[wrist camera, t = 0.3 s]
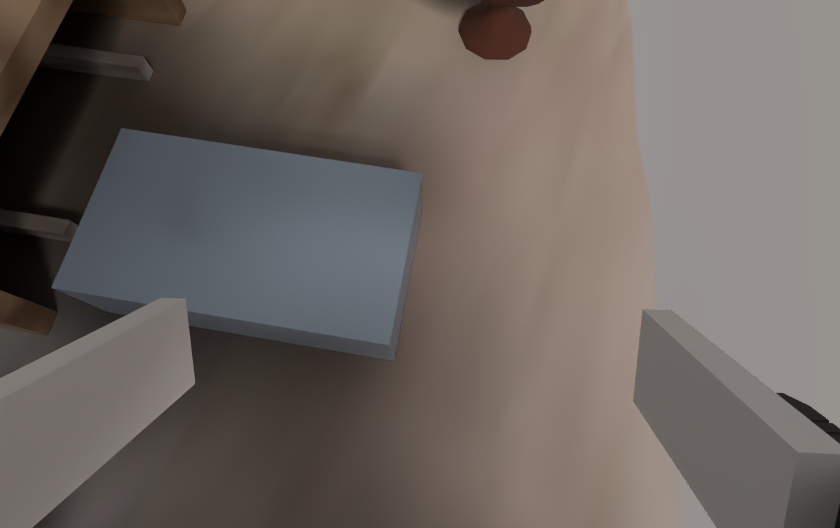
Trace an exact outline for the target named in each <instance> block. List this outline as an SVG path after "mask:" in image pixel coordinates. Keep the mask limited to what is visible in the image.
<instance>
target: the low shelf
mask: <svg viewBox="0 0 840 528" xmlns="http://www.w3.org/2000/svg"><path fill="white" fill-rule="evenodd" d="M67 10H71V11H78V12H86V13H93V14H100V15H107V16H115V17H122V18H129V19H137V20H144V21H151V22H159V23H166V24H173V25H180V24H181V22H182V20H183V17H184V15H185V13H186V9H185V7H184V5H183V4H182V2H181V0H0V136H1V134H2V132H3V131H4V129H5V127H6V125H7V123H8V121H9V119H10V117H11V116H12V114H13V112H14V110H15V108H16V106H17V104H18V102H19V101H20V99H21V97H22V95H23V93H24V91H25V89H26V87H27V86H28V84H29V82H30V80H31V78H32V76H33V74H34V72H35V70H36V69H37V67H38V66H41V67H48V68H55V69H62V70H69V71H76V72H83V73H90V74H97V75H104V76H111V77H118V78H124V79H131V80H138V81H145V82H149V81H150V78H151V76H152V74H153V70H152V68H151V67H150V65H149V64H148V63H147V61H146V60H145V58H144V57H143V56H137V55H130V54H123V53H116V52H109V51H102V50H94V49H87V48H80V47H73V46H66V45H59V44H52V43H50V42H51V40H52V39H53V37H54V35H55V33H56V31H57V29H58V27H59V25H60V24H61V22H62V20H63V18H64V16H65V14H66V12H67ZM77 228H78V225H77V224H75V223H74V222H72V221H70V220H66V219H60V218H54V217H48V216H42V215H35V214H29V213H23V212H17V211H11V210H4V209H0V231H4V232H10V233H16V234H22V235H28V236H35V237H41V238H47V239H53V240H59V241H65V242H72V239H73V237H74V235H75V232H76V230H77ZM56 314H57V311H54V310H52V309H49V308H46V307H44V306H41V305H38V304H36V303H33V302H30V301H28V300H25V299H22V298H19V297H17V296H14V295H11V294H9V293H6V292H3V291H1V290H0V327H2V328H8V329H14V330H19V331H25V332H31V333H36V334H42V335H48V333H49V331H50V328H51V326H52V324H53V321H54V319H55V317H56Z"/></svg>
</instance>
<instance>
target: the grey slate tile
mask: <svg viewBox="0 0 840 528" xmlns="http://www.w3.org/2000/svg"><path fill="white" fill-rule="evenodd" d="M421 214H422V173H418V172H411V171H405V170H398V169H391V168H385V167H378V166H371V165H365V164H358V163H351V162H345V161H338V160H331V159H325V158H318V157H311V156H305V155H298V154H291V153H285V152H278V151H271V150H265V149H258V148H251V147H245V146H238V145H231V144H225V143H218V142H211V141H205V140H198V139H191V138H185V137H178V136H171V135H165V134H158V133H151V132H145V131H138V130H131V129H125V128H121V130H120V132H119V135H118V137H117V139H116V141H115V144H114V146H113V148H112V151H111V153H110V155H109V157H108V160H107V162H106V164H105V167H104V169H103V171H102V173H101V176H100V178H99V180H98V182H97V185H96V187H95V189H94V192H93V194H92V196H91V198H90V201H89V203H88V205H87V207H86V210H85V212H84V214H83V217H82V219H81V221H80V223H79V226H78V228H77V230H76V232H75V235H74V237H73V239H72V242H71V244H70V246H69V248H68V251H67V253H66V255H65V258H64V260H63V262H62V264H61V267H60V269H59V271H58V273H57V276H56V278H55V280H54V283H53V285H52V287H51V288H53V289H55V290H57V291H60V292H62V293H64V294H67V295H69V296H71V297H74V298H76V299H78V300H81V301H83V302H85V303H88V304H90V305H92V306H94V307H97V308H99V309H101V310H104V311H106V312H111V313H116V314H122V315H128V314H130V313H132V312H134V311H136V310H138V309H140V308H142V307H144V306H146V305H148V304H150V303H152V302H154V301H156V300H158V299H160V298H186V307H187V315H188V324H189V326H192V327H198V328H204V329H210V330H215V331H221V332H227V333H233V334H239V335H245V336H250V337H256V338H262V339H268V340H274V341H280V342H285V343H291V344H297V345H303V346H309V347H315V348H320V349H326V350H332V351H338V352H344V353H350V354H355V355H361V356H367V357H373V358H379V359H385V360H390V361H394V359H395V353H396V348H397V343H398V337H399V332H400V327H401V321H402V316H403V310H404V305H405V300H406V294H407V289H408V284H409V278H410V273H411V267H412V262H413V257H414V251H415V246H416V241H417V235H418V230H419V225H420V219H421Z"/></svg>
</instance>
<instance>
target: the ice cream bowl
mask: <svg viewBox="0 0 840 528" xmlns="http://www.w3.org/2000/svg"><path fill="white" fill-rule="evenodd" d="M481 1H483V2H482V3H480V4H478V5H476V6H474V7H473V8H471V9H469V10H468V11H467V13H466V15H465V17H464V19H463V22H462V25H461V27H460V30H459V33H460V35H461V38H462V40H463V42H464V45H465V47H466V49H468V50H470V51H471V52H473V53H475V54H477V55H478V56H480V57H482V58H484V59H510V58H511V57H513V56H515V55H516V54H518V53H520V52H522V51H523V50H525V49H526V47H527V44H528V41H529V38H530V35H531V26H530V24H529V22H528V20H527V18H526V16H525V14H524V12H523V10H521V9H519V8H517V7H528V6H532V5H536V4H539V3H540V2H542V1H544V0H481Z"/></svg>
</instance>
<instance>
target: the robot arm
mask: <svg viewBox="0 0 840 528" xmlns="http://www.w3.org/2000/svg"><path fill="white" fill-rule="evenodd" d="M194 384H195V377H194V368H193V359H192V350H191V342H190V333H189V324H188V315H187V307H186V298H160V299H158V300H156V301H154V302H152V303H150V304H148V305H146V306H144V307H142V308H140V309H138V310H136V311H134V312H132V313H130V314H128V315H126V316H124V317H122V318H120V319H118V320H116V321H114V322H112V323H110V324H108V325H106V326H104V327H102V328H100V329H98V330H96V331H94V332H92V333H90V334H88V335H86V336H84V337H82V338H80V339H78V340H76V341H74V342H72V343H70V344H68V345H66V346H64V347H62V348H60V349H58V350H56V351H54V352H52V353H50V354H48V355H46V356H44V357H42V358H40V359H38V360H36V361H34V362H32V363H30V364H28V365H26V366H24V367H22V368H20V369H18V370H16V371H14V372H12V373H10V374H8V375H6V376H4V377H2V378H0V528H32V527H34V526H35V525H36V524H37V523H38V522H39V521H40V520H41V519H43V518H44V517H45V516H46V515H47V514H48V513H49V512H51V511H52V510H53V509H54V508H55V507H56V506H57V505H58V504H60V503H61V502H62V501H63V500H64V499H65V498H66V497H68V496H69V495H70V494H71V493H72V492H73V491H74V490H75V489H77V488H78V487H79V486H80V485H81V484H82V483H83V482H85V481H86V480H87V479H88V478H89V477H90V476H91V475H92V474H94V473H95V472H96V471H97V470H98V469H99V468H100V467H102V466H103V465H104V464H105V463H106V462H107V461H108V460H109V459H111V458H112V457H113V456H114V455H115V454H116V453H117V452H119V451H120V450H121V449H122V448H123V447H124V446H125V445H126V444H128V443H129V442H130V441H131V440H132V439H133V438H134V437H136V436H137V435H138V434H139V433H140V432H141V431H142V430H143V429H145V428H146V427H147V426H148V425H149V424H150V423H151V422H153V421H154V420H155V419H156V418H157V417H158V416H159V415H160V414H162V413H163V412H164V411H165V410H166V409H167V408H168V407H170V406H171V405H172V404H173V403H174V402H175V401H176V400H177V399H179V398H180V397H181V396H182V395H183V394H184V393H185V392H186V391H188V390H189V389H190V388H191V387H192V386H193V385H194ZM633 401H634V403H635V404H636V406H637V407H638V409H639V410H640V412H641V413H642V415H643V417H644V418H645V420H646V421H647V423H648V424H649V426H650V427H651V429H652V430H653V432H654V433H655V435H656V436H657V438H658V439H659V441H660V442H661V444H662V445H663V447H664V448H665V450H666V451H667V453H668V454H669V456H670V457H671V459H672V461H673V462H674V464H675V465H676V467H677V468H678V470H679V471H680V473H681V474H682V476H683V477H684V479H685V480H686V482H687V483H688V485H689V486H690V488H691V489H692V491H693V492H694V494H695V495H696V497H697V498H698V500H699V501H700V503H701V504H702V506H703V507H704V509H705V511H706V512H707V514H708V515H709V517H710V518H711V520H712V521H713V523H714V524H715V526H716V527H717V528H840V429H839V428H838V427H837V426H836V425H834V424H833V423H829V420H827V419H826V418H825V417H824V416H822V415H821V414H819V413H818V412H817V411H816V410H814V409H813V408H812V407H810V406H808V405H807V404H805V403H802V402H800V401H798V400H796V399H794V398H792V397H790V396H788V395H786V394H784V393H775V392H774V391H773V390H771V389H770V388H769V387H768V386H766V385H765V384H764V383H763V382H761V381H760V380H759V379H758V378H756V377H755V376H754V375H752V374H751V373H750V372H749V371H747V370H746V369H745V368H744V367H742V366H741V365H740V364H739V363H737V362H736V361H735V360H734V359H732V358H731V357H730V356H729V355H727V354H726V353H725V352H724V351H722V350H721V349H720V348H718V347H717V346H716V345H715V344H714V343H712V342H711V341H710V340H709V339H707V338H706V337H705V336H704V335H702V334H701V333H700V332H698V331H697V330H696V329H695V328H693V327H692V326H691V325H690V324H688V323H687V322H686V321H685V320H683V319H682V318H681V317H679V316H678V315H677V314H676V313H675V312H673V311H672V310H648V309H643V311H642V320H641V330H640V340H639V349H638V359H637V369H636V378H635V388H634V398H633Z"/></svg>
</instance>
